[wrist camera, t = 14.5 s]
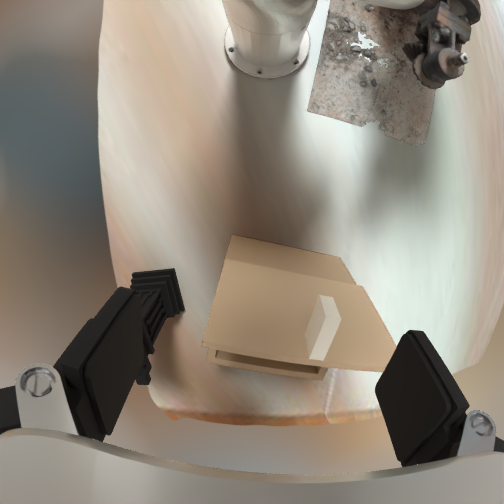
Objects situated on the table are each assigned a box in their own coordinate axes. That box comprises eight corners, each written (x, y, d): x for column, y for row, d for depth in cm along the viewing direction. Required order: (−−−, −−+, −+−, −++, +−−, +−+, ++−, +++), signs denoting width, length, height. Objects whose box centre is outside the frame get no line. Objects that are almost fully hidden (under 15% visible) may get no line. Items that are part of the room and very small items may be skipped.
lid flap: (224, 263, 36) (231, 226, 35) (360, 290, 37) (373, 257, 36) (201, 346, 22) (209, 295, 20) (405, 373, 23) (429, 331, 21)
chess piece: (174, 268, 50) (131, 338, 32) (184, 308, 53) (152, 387, 34) (133, 272, 51) (78, 337, 32) (145, 311, 54) (102, 383, 35)
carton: (232, 234, 48) (223, 264, 37) (340, 257, 49) (361, 291, 37) (216, 318, 54) (205, 361, 42) (312, 335, 54) (322, 380, 43)
